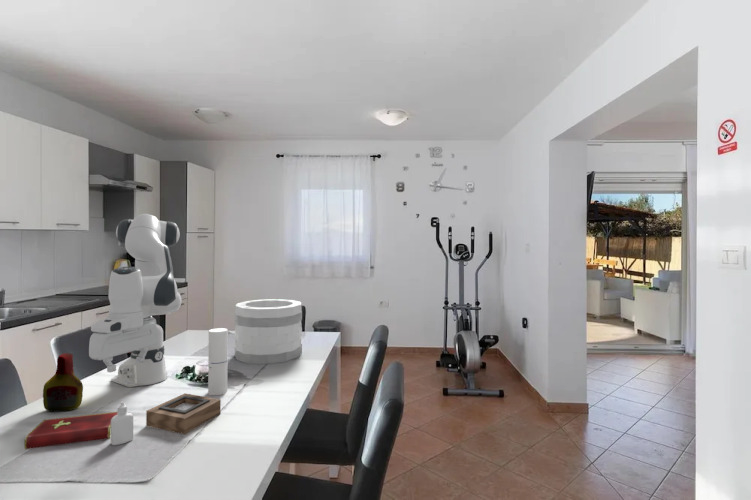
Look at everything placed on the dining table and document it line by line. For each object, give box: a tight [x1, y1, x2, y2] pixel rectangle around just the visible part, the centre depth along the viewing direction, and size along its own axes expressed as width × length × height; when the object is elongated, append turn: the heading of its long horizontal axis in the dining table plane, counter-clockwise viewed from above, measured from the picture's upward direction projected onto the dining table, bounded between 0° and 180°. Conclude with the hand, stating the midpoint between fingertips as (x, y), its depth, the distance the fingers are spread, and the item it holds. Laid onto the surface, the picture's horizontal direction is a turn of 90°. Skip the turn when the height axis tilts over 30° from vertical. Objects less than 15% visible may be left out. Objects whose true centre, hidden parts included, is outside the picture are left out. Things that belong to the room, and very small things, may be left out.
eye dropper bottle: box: [110, 401, 134, 446], centre depth 118 cm, size 4×6×12 cm
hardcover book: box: [24, 411, 118, 450], centre depth 122 cm, size 12×21×4 cm, turn 109°
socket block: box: [145, 392, 222, 435], centre depth 134 cm, size 16×16×6 cm
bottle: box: [42, 352, 84, 412], centre depth 140 cm, size 12×6×20 cm, turn 97°
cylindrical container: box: [207, 327, 229, 396], centre depth 158 cm, size 7×7×25 cm
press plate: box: [173, 402, 197, 411], centre depth 134 cm, size 8×8×1 cm
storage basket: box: [234, 298, 303, 365], centre depth 212 cm, size 35×35×27 cm
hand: (126, 366), depth 119 cm, fingers open, 8 cm apart
